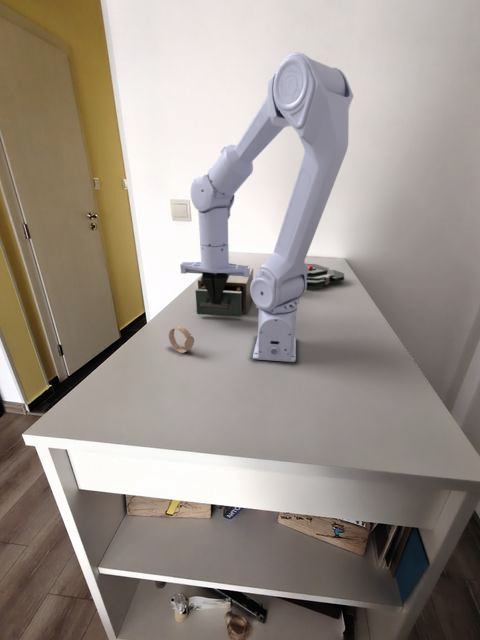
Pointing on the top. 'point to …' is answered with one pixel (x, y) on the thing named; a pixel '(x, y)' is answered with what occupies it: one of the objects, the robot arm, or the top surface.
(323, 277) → the four-lobed dark green device
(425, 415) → the top surface
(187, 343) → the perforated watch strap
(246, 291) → the cabinet
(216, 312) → the drawer
